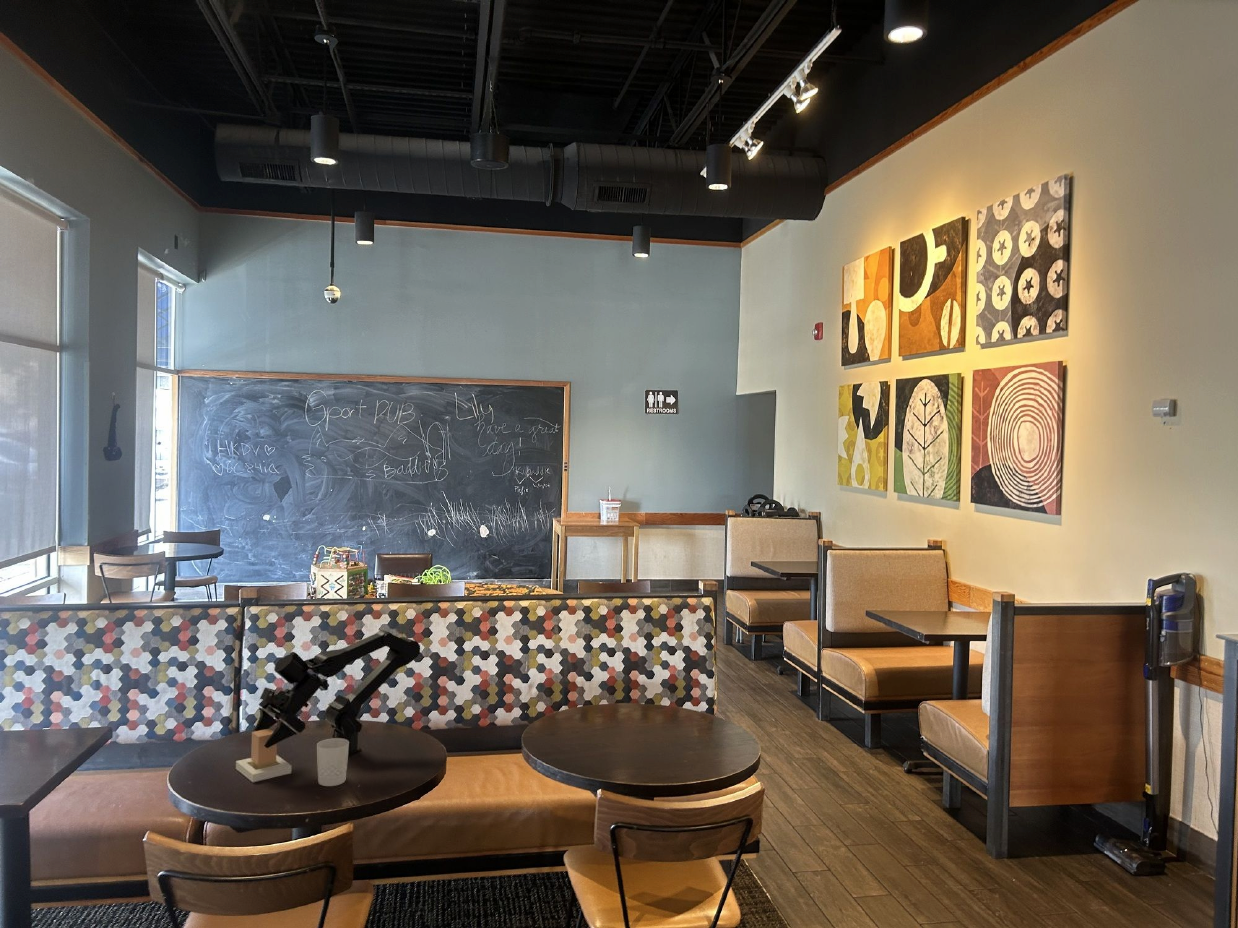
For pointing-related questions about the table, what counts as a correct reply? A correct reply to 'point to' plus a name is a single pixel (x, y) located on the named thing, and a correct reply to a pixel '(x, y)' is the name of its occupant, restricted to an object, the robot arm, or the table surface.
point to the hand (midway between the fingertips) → (258, 742)
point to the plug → (262, 749)
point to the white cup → (332, 761)
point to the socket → (263, 769)
